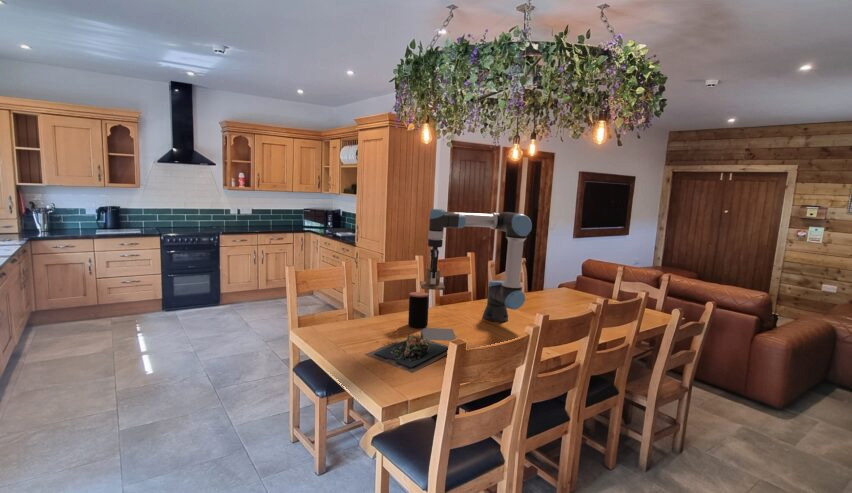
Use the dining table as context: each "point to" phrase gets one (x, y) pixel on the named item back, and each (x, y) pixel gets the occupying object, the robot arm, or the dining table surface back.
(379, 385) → the dining table surface
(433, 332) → the mat
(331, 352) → the dining table surface
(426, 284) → the lid
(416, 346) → the plated dish
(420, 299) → the coffee jar
